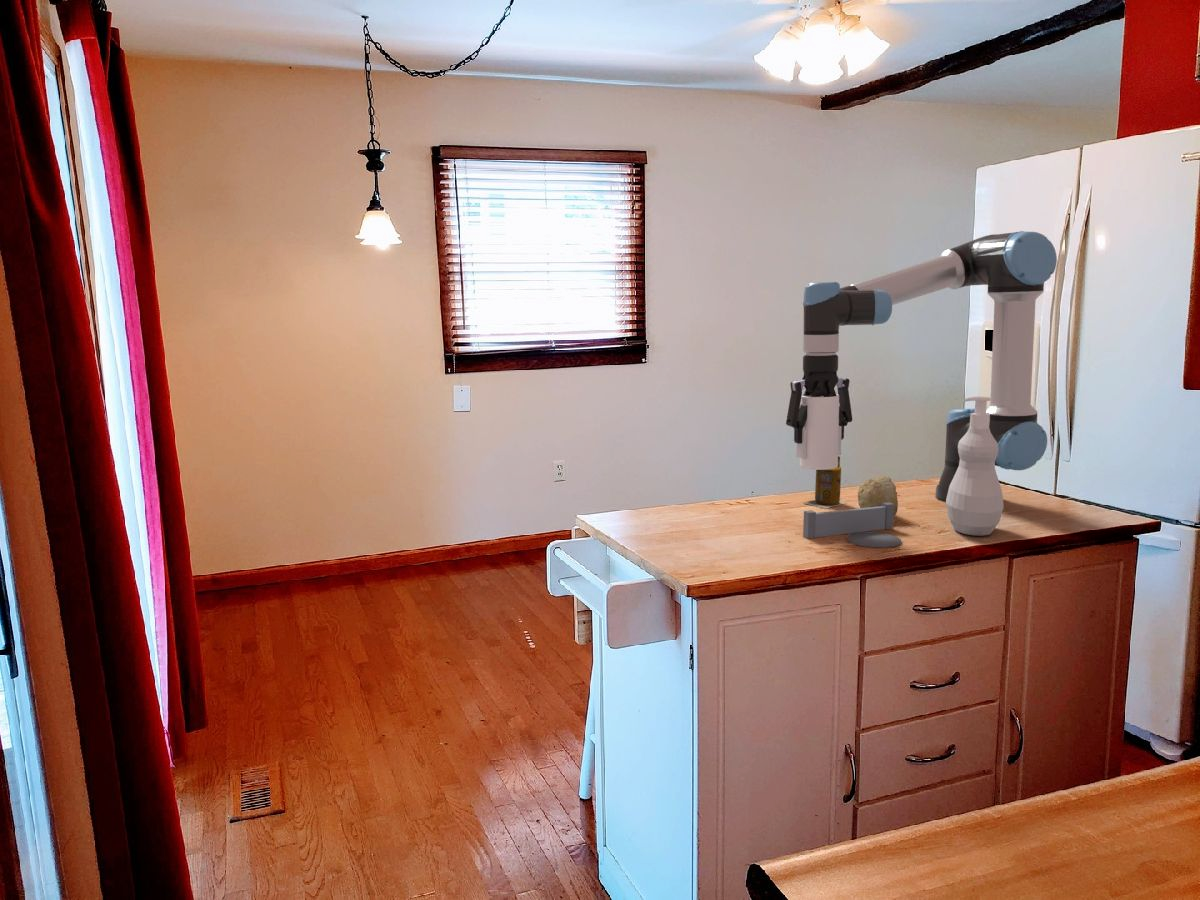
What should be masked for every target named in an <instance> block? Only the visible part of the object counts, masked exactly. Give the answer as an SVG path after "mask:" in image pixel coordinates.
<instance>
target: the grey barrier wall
mask: <svg viewBox="0 0 1200 900" xmlns="http://www.w3.org/2000/svg"><path fill="white" fill-rule="evenodd" d="M893 514H894V504H892V503H889V502H888V503H882V506H878V507H868V508H860V507H859V508H851V509H843V510H842V509H840V510H830V511H822V512H816V511H814V510H804V511H803V529H802V530H803V531H802V536H803V537H804V538H806V539H815V538H819V537H828V536H837V535H839V536H840V535H846V534H853V533H858V532H873V531H881V530H882V531H883V530H893V529H894V516H893Z"/></svg>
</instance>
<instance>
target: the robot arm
mask: <svg viewBox="0 0 1200 900" xmlns="http://www.w3.org/2000/svg"><path fill="white" fill-rule="evenodd" d="M1057 258H1058V256H1057V252H1056V249H1055V246H1054V244H1053V243H1052V241H1051V240H1049V239H1048V237H1047V236H1045V235H1044V234H1042V233H1040V232H1038V231H1024V230H1020V231H1015V232H1008V233H998V234H997V233H996V234H994V233H993V234H988V235H985V236H981V237H978V238H976V239H973V240H970V241H968V242H965V243H963V244H960V245H957V246H955V247H953V248H949V249H947V250H944V251H942V252H941V253H940V254H939V256H938V257H935V258H932V259H929V260H925V261H923V262H920V263H916V264H912V265H910V266H907V267H903V268H900V269H897V270H894V271H893V270H892V271H891V272H887V273H885V274H884V273H883V274H881V275H877V276H875V277H872V278H869V279H866V280H862V281H859V282H856V283H853V284H850V285H846V286H843V287H841V286H840V283H839V282H837V281H827V282H809V283H807V284H805V287H804V292H803V303H802V304H803V305H802V306H803V335H802V337H803V341H802V342H803V345H802V346H803V347H802V350H803V351H802V352H804V353H805V354H803V356H802V371H803V377H802V378H801V379H800V380H798V381H797V380H796V381H795V380H792V381H790V384H789V385H790V390H791V391H790V392H791V393H790V397H789V404H788V409H787V415H786V421H785V424H786V426H789V427H790V428H793V442H794V443H795V444H796V458H799V459H800V458H802V459H806V452H807V429H803V428H804V425H805V423H806V420H807V405H806V406H802V404H801V397H802V394H804V395H803V396H807V397H820V396H824V397H834V396H837V395H836V394H838V395H839V430H838V456H841V455H842V440H844V437H845V427H847V426H848V425H849V424H848V423H851V422H852V421H853V414H852V406H851V398H850V393H849V391H850V390H849V387H850V379H849V378H847V377H846V378H845V377H838V373H837V372H838V370H839V356H838V354H837V353H838V352H839V351H840V348H839V347H840V346H839V341H840V337H839V336H840V335H839V333H840V331H839V330H840V326H868V325H870V326H875V325H881V324H885V323H887V322H888V321H889V320H890V319H891V316H892V312H893V306H895V305H897V304H901V303H903V302H906V301H910V300H913V299H915V298H919V297H922V296H925V295H928V294H931V293H935V292H938V291H940V290H944V289H947V288H949V289H951V290H958V289H961V288H964V287H970V286H984V285H985V286H987V295H988V296H989V297H990V298H991V299H992V300H993V302H994V303H993V306H994V307H993V327H992V328H993V329H992V330H993V332H992V350H991V351H992V352H991V354H992V356H991V374H990V375H991V381H990V399H991V400H990V401H989V402H990V403H989V404H988V405H987V407H986V414H990V421H989V428H990V432H991V434H992V436H993V437H994V439H995V440H996V442H997V443H998V448H999V451H998V455H997V458H996V460H995V467H999V468H1001V469H1005V470H1008V471H1009V470H1012V471H1024V470H1028V469H1030V468H1032V467H1033V466H1035V465H1036V463H1038V461H1040V460H1041V459H1042V458H1043V456H1044V454H1045V452H1046V450H1047V447H1048V435H1047V432H1046V430H1044V428H1043V426H1042V425H1040V424H1039V423H1038V410H1037V409H1036V408H1035V407H1034V406H1032V385H1033V383H1032V382H1033V379H1032V378H1033V365H1034V364H1033V360H1034V342H1035V336H1034V335H1035V322H1036V321H1035V320H1036V319H1035V318H1036V301H1037V299H1038V298H1039V297H1040V296H1041V295H1042V294H1043V293H1044V291H1045V290H1044V286H1045V282H1047V281H1048V280H1049V279H1051V277H1052V275H1053V274H1054V273H1055V270H1056V267H1057V261H1058V259H1057ZM835 388H837V393H836V389H835ZM804 389H805V390H804ZM803 390H804V393H803ZM810 395H811V396H810ZM971 413H975V408H955V409H952V410H950V411H949V412H948V415H947V418H946V423H945V426H946V434H945V453H944V454H945V455H944V467H943V470H942V473H941V476H940V478H939V481H938V484H937V485H936V487H935V498H937V499H938V500H941V501H944V502H946V498H947V494H948V490H949V486H950V484H951V482H952V480H953V478H954V475H955V473H956V471H957V469H958V467H959V462H960V457H959V453H958V444H959V441H960V440H961V438H962V437H963V436H964V435H965V434H966V433H967V431H968V429H969V427H970V414H971Z"/></svg>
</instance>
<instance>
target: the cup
mask: <svg viewBox="0 0 1200 900" xmlns="http://www.w3.org/2000/svg"><path fill="white" fill-rule="evenodd" d="M803 395H804V393H802V397H801V403H800V405H801V404H802V406H806V405H807V420H806V423H805V425H804V428H803V429H807V452H806V459H802V458H799V467H800V468H803V469H806V470H814V471H816V470H828V469H834V468H837V467H838V456H839V455H838V430H839V406H840V404H839V395H838V393H836V395H837V396H834V397H824V396H820V397H807V396H803ZM810 396H811V395H810Z"/></svg>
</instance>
